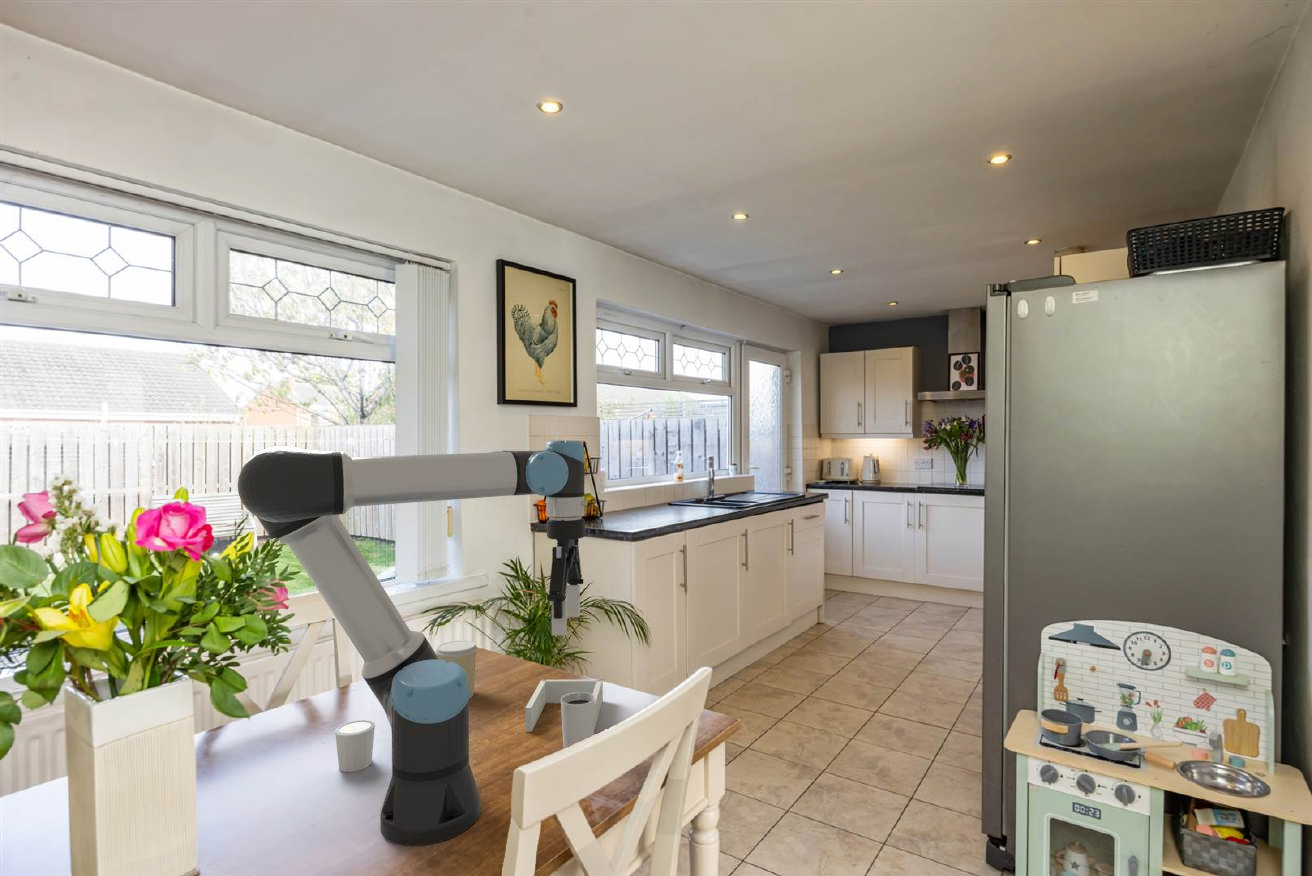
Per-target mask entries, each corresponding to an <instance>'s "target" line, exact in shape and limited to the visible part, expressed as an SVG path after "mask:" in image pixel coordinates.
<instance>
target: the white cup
mask: <svg viewBox="0 0 1312 876" xmlns="http://www.w3.org/2000/svg"><path fill="white" fill-rule="evenodd" d="M560 707H561V709H560V711H561V726H562V727H561V728H562V729H561V730H562V744H563V747H562V748H564V747H569V746H571V745H572V744H574V743H576V742H579V741H582V740H584V739H585V738H589V737H591V736H592V735H594V733H595V731H594V707H595V696H594V695H593V694H590V693H586V692H574V693H569V694H566V695H564V696H563V697H562V698H561V703H560Z"/></svg>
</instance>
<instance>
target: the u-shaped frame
mask: <svg viewBox="0 0 1312 876" xmlns="http://www.w3.org/2000/svg"><path fill="white" fill-rule="evenodd" d="M574 692H586V693H590V694H593V695H594V696H595V707H594V732H595V730H596V726H597V725H598V724H597V723H598V720H599V716H600V713H601V708H602V705H603V701H604V697H603V696H604V695H603V694H604V691H603V679H540V681H539V683H538V685H537V686H536V688H535V691H534V692H533V693H532V696H531V697H530V699H529V701H528V702H527V704H526V706H525V710H524V711H525V733H532V732H533V730H534V727H535V726H536V724H537V722H538V719H539V718H540V716H541V714H542V712H543V711H544V708H545V706H546V704H561V698H562V697H563V696H564V695H566V694H569V693H574Z"/></svg>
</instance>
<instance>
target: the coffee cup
mask: <svg viewBox="0 0 1312 876" xmlns="http://www.w3.org/2000/svg"><path fill="white" fill-rule="evenodd" d="M477 649H478V647H477V645H476V643H475V642H474V641H471V640H463V639H462V640H460V639H459V640H451V641H447V642H443V643H440V644H439V645H438V646H437V647H436V649H435V653H436V655H437V656H438V658H439V659H440V660H446V661H447V662H454V663H456V664H458V665H460V666H461V667H462V668H463V669H464V670H465V672H466V674H467V677H468V684H469V692H470V694H469V699H471V698H472V697H473V696H474V693H475V680H476V678H475V677H476V662H477V661H476V659H477Z"/></svg>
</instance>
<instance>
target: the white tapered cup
mask: <svg viewBox="0 0 1312 876" xmlns="http://www.w3.org/2000/svg"><path fill="white" fill-rule="evenodd" d="M375 726H376V724H375V722H374V721H372V720H367V719H365V720H353V721H349V722H346V723H343V724H341V725H339V726H337V727H336V729H335V730H334V734H335V735H334V736H335V743H336V744H335V745H336V752H337V753H336V754H337V760H338V770H340V771H341V772H346V773H352V772H357V771H362V770H364V769H366V768H368V767H369V766H371V764H372V761H373V751H374V739H375V730H376V727H375Z"/></svg>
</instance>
